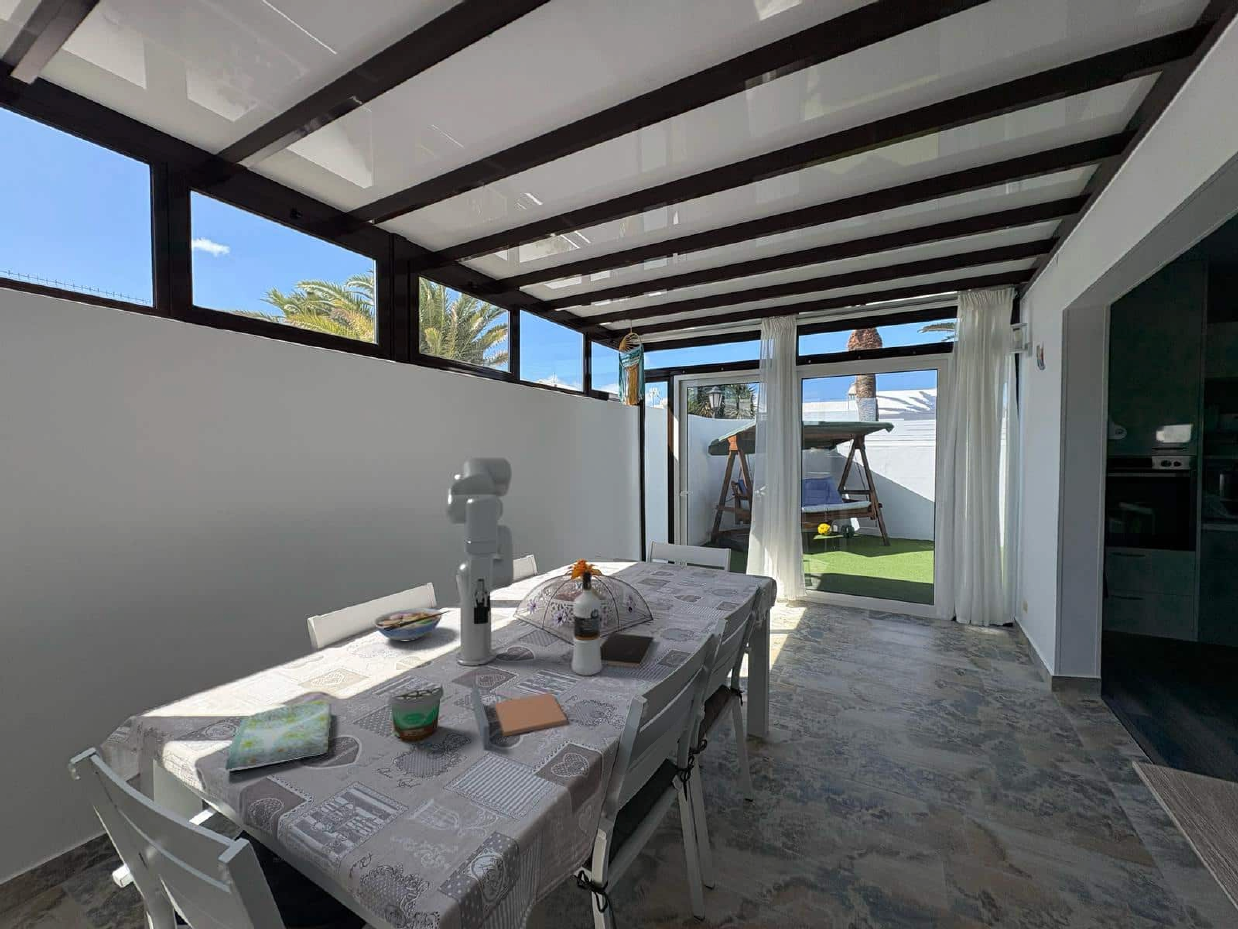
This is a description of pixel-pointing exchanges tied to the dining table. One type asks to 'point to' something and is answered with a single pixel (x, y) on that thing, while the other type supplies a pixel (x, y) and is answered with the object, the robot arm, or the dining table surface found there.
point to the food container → (416, 714)
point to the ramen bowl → (408, 623)
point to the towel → (281, 734)
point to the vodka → (586, 631)
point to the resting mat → (529, 714)
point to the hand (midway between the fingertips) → (482, 617)
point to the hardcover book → (625, 649)
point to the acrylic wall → (480, 716)
